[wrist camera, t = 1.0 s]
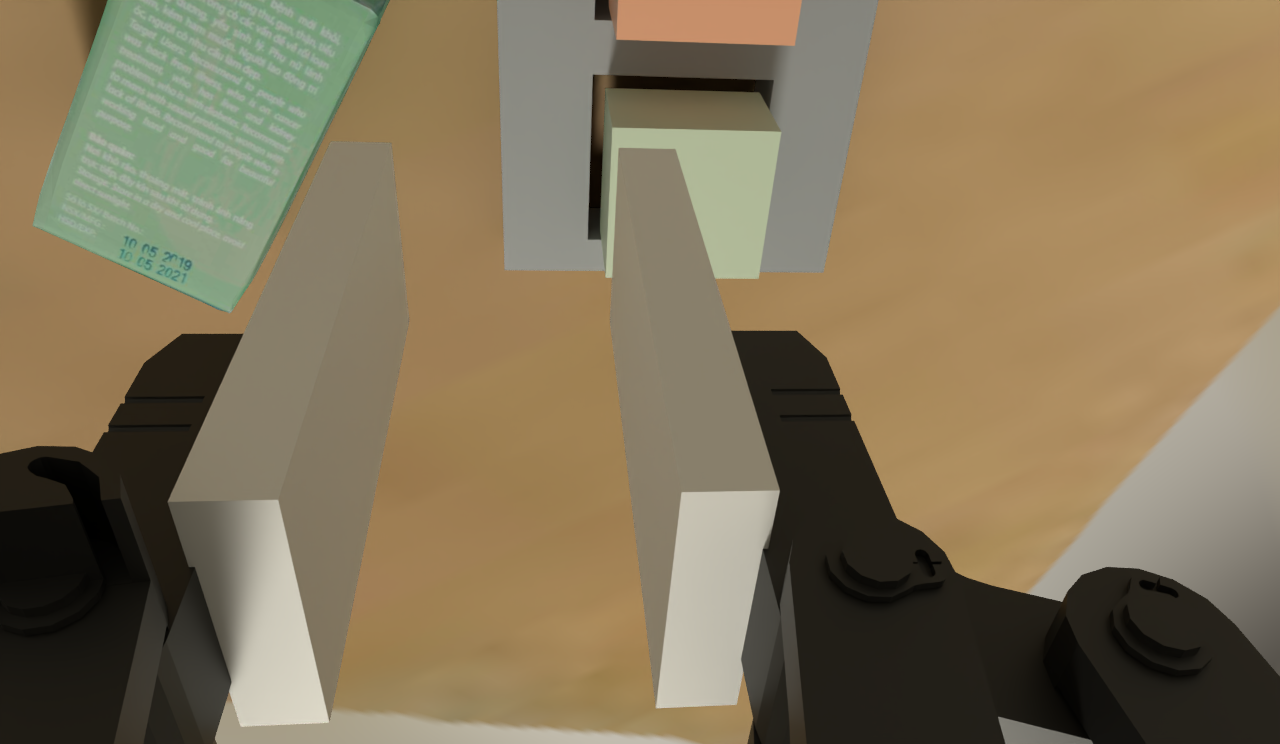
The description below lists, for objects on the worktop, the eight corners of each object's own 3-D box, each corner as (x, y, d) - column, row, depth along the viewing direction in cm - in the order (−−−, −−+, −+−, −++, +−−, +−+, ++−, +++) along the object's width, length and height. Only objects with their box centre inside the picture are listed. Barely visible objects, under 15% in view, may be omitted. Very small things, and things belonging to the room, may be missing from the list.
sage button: (599, 229, 39) (605, 277, 36) (605, 87, 36) (612, 127, 32) (740, 230, 40) (758, 278, 36) (759, 92, 36) (781, 131, 33)
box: (413, -48, 35) (386, 7, 29) (279, 229, 41) (233, 322, 35) (217, -170, 32) (141, -138, 26) (105, 147, 38) (22, 232, 32)
